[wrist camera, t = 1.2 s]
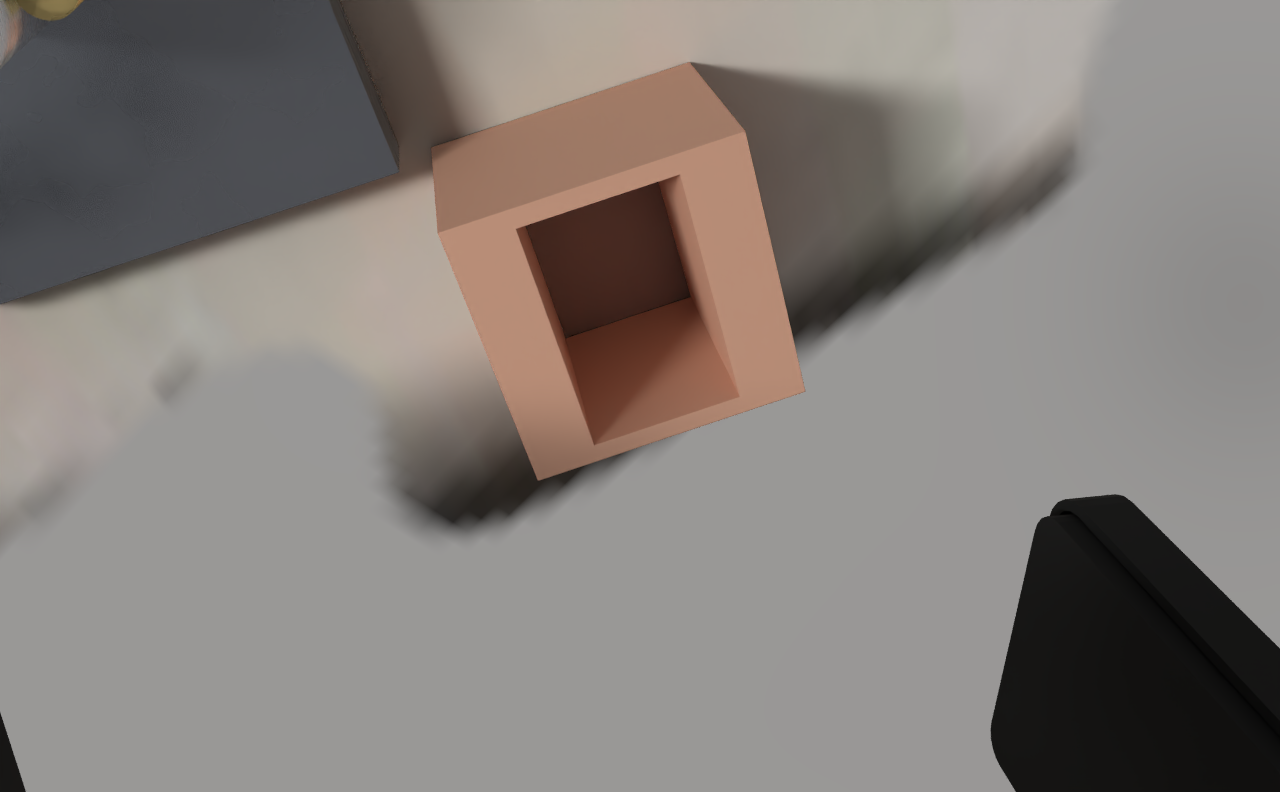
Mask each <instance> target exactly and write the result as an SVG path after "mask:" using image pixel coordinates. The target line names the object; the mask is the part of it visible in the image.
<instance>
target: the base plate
mask: <svg viewBox="0 0 1280 792" xmlns="http://www.w3.org/2000/svg"><path fill="white" fill-rule="evenodd" d="M398 172H399V146H398V143H397V141H396V138H395V136H394V133H393V131H392V128H391V126H390V123H389V121H388V118H387V116H386V114H385V111H384V109H383V106H382V104H381V101H380V99H379V96H378V94H377V91H376V89H375V87H374V84H373V82H372V79H371V77H370V74H369V72H368V69H367V67H366V64H365V62H364V59H363V57H362V55H361V52H360V50H359V47H358V45H357V42H356V40H355V37H354V35H353V32H352V30H351V28H350V25H349V23H348V20H347V18H346V15H345V13H344V10H343V8H342V5H341V3H340V0H0V304H2V303H5V302H8V301H11V300H14V299H17V298H20V297H23V296H26V295H29V294H32V293H35V292H38V291H41V290H44V289H47V288H50V287H53V286H56V285H59V284H62V283H65V282H68V281H71V280H75V279H78V278H81V277H84V276H87V275H90V274H93V273H96V272H99V271H102V270H105V269H108V268H111V267H114V266H117V265H120V264H123V263H126V262H129V261H132V260H135V259H138V258H141V257H144V256H147V255H150V254H153V253H156V252H159V251H162V250H165V249H168V248H171V247H174V246H177V245H180V244H183V243H186V242H189V241H192V240H195V239H198V238H201V237H205V236H208V235H211V234H214V233H217V232H220V231H223V230H226V229H229V228H232V227H235V226H238V225H241V224H244V223H247V222H250V221H253V220H256V219H259V218H262V217H265V216H268V215H271V214H274V213H277V212H280V211H283V210H286V209H289V208H292V207H295V206H298V205H301V204H304V203H307V202H310V201H313V200H316V199H319V198H322V197H325V196H328V195H332V194H335V193H338V192H341V191H344V190H347V189H350V188H353V187H356V186H359V185H362V184H365V183H368V182H371V181H374V180H377V179H380V178H383V177H386V176H389V175H392V174H395V173H398Z"/></svg>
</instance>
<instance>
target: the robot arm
mask: <svg viewBox="0 0 1280 792" xmlns="http://www.w3.org/2000/svg"><path fill="white" fill-rule="evenodd" d="M991 741H992V746H993V750H994V753H995V756H996V759H997V761H998V763H999V765H1000V767H1001V768H1002V770H1003V771H1004V773H1005V775H1006V776H1007V778H1008V779H1009V781H1010V783H1011V785H1012V786H1013V788H1014V789H1015V791H1016V792H1280V648H1279V647H1278V646H1277V645H1276V644H1275V643H1274V642H1273V641H1272V640H1271V639H1270V638H1269V637H1267V635H1265V633H1263V632H1262V631H1261V630H1260V628H1258V627H1257V626H1256V625H1255V624H1254V623H1253V622H1252V621H1251V620H1250V619H1249V618H1248V617H1247V616H1246V615H1245V614H1244V613H1243V612H1242V611H1241V610H1240V609H1239V608H1238V607H1237V606H1236V605H1235V604H1234V603H1233V602H1232V601H1231V600H1230V599H1229V598H1228V597H1227V596H1226V595H1225V594H1224V593H1223V592H1222V591H1221V590H1220V589H1219V588H1218V587H1217V586H1216V585H1215V584H1214V583H1213V582H1212V581H1211V580H1210V579H1209V578H1208V577H1207V576H1206V575H1205V574H1204V573H1203V572H1202V571H1201V570H1200V569H1199V568H1198V567H1197V566H1196V565H1195V564H1194V563H1193V562H1192V561H1191V560H1190V559H1189V558H1188V557H1187V556H1186V555H1185V554H1184V553H1183V552H1182V551H1181V550H1180V549H1179V548H1178V547H1177V546H1176V545H1175V544H1174V543H1173V542H1172V541H1171V540H1170V539H1169V538H1168V537H1167V536H1165V534H1164V533H1163V532H1162V531H1161V530H1160V529H1159V528H1158V527H1157V526H1156V525H1155V524H1154V523H1153V522H1152V521H1151V520H1150V519H1149V518H1148V517H1147V516H1145V514H1144V513H1143V512H1142V511H1141V510H1139V509H1138V507H1136V506H1135V505H1134V504H1133V503H1132V502H1131V501H1130V500H1128V499H1127V498H1126V497H1124V496H1121V495H1104V496H1095V497H1085V498H1075V499H1065V500H1062V501H1060V502H1058V503H1057V504H1056V505H1055V506H1054V508H1053V509H1052V511H1051V514H1050V516H1047V517H1044V518H1042V519H1041V520H1040V521H1039V522H1038V524H1037V527H1036V529H1035V533H1034V537H1033V542H1032V546H1031V551H1030V555H1029V559H1028V564H1027V568H1026V573H1025V577H1024V581H1023V586H1022V590H1021V594H1020V599H1019V603H1018V608H1017V612H1016V617H1015V621H1014V625H1013V630H1012V634H1011V639H1010V643H1009V647H1008V652H1007V656H1006V661H1005V665H1004V670H1003V674H1002V679H1001V683H1000V687H999V692H998V696H997V701H996V705H995V710H994V714H993V718H992V723H991ZM0 792H26V791H25V788H24V785H23V782H22V778H21V775H20V773H19V769H18V766H17V763H16V760H15V757H14V754H13V751H12V748H11V744H10V741H9V738H8V735H7V732H6V729H5V726H4V723H3V720H2V717H1V714H0Z"/></svg>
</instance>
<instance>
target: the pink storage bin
mask: <svg viewBox="0 0 1280 792" xmlns="http://www.w3.org/2000/svg"><path fill="white" fill-rule="evenodd" d="M431 153H432V165H433V178H434V191H435V204H436V217H437V229H438V235H439V237H440V240H441V242H442V245H443V247H444V250H445V252H446V255H447V257H448V260H449V262H450V265H451V267H452V269H453V272H454V274H455V277H456V279H457V282H458V284H459V287H460V289H461V292H462V294H463V297H464V299H465V302H466V304H467V306H468V309H469V311H470V314H471V316H472V319H473V321H474V324H475V326H476V329H477V331H478V334H479V336H480V339H481V341H482V344H483V346H484V348H485V351H486V353H487V356H488V358H489V361H490V363H491V366H492V368H493V371H494V373H495V376H496V378H497V381H498V383H499V386H500V388H501V390H502V393H503V395H504V398H505V400H506V403H507V405H508V408H509V410H510V413H511V415H512V418H513V420H514V423H515V425H516V428H517V430H518V432H519V435H520V437H521V440H522V442H523V445H524V447H525V450H526V452H527V455H528V457H529V460H530V462H531V465H532V467H533V470H534V472H535V474H536V477H537V479H538V481H539V480H542V479H545V478H548V477H551V476H554V475H557V474H560V473H563V472H566V471H569V470H572V469H575V468H578V467H581V466H584V465H587V464H590V463H593V462H596V461H599V460H602V459H605V458H608V457H611V456H614V455H617V454H620V453H623V452H626V451H629V450H632V449H635V448H638V447H641V446H644V445H647V444H650V443H653V442H656V441H659V440H662V439H665V438H668V437H671V436H674V435H677V434H680V433H683V432H686V431H689V430H692V429H695V428H698V427H701V426H704V425H707V424H710V423H713V422H716V421H719V420H722V419H725V418H728V417H731V416H734V415H737V414H740V413H743V412H746V411H749V410H752V409H755V408H758V407H761V406H764V405H767V404H770V403H772V402H776V401H779V400H782V399H785V398H788V397H791V396H794V395H797V394H800V393H803V392H805V388H804V383H803V379H802V375H801V370H800V366H799V362H798V357H797V353H796V349H795V344H794V340H793V336H792V331H791V327H790V323H789V318H788V314H787V310H786V305H785V301H784V297H783V292H782V288H781V284H780V279H779V275H778V271H777V266H776V262H775V258H774V253H773V249H772V245H771V240H770V236H769V232H768V227H767V223H766V219H765V214H764V210H763V206H762V201H761V197H760V193H759V188H758V184H757V180H756V176H755V171H754V167H753V163H752V158H751V154H750V150H749V145H748V141H747V137H746V132H745V130H744V129H743V128H742V127H741V125H740V124H739V123H738V122H737V120H736V119H735V118H734V117H733V115H732V114H731V113H730V112H729V110H728V109H727V108H726V107H725V106H724V104H723V103H722V102H721V101H720V99H719V98H718V97H717V96H716V94H715V93H714V92H713V91H712V89H711V88H710V87H709V86H708V85H707V83H706V82H705V81H704V80H703V78H702V77H701V76H700V75H699V73H698V72H697V71H696V70H695V68H694V67H693V66H692V65H691V64H690V62H688V63H685V64H682V65H679V66H676V67H673V68H670V69H667V70H664V71H661V72H658V73H655V74H652V75H649V76H646V77H643V78H640V79H637V80H634V81H631V82H628V83H625V84H622V85H619V86H616V87H613V88H610V89H607V90H604V91H601V92H598V93H595V94H592V95H589V96H586V97H582V98H579V99H576V100H573V101H570V102H567V103H564V104H561V105H558V106H555V107H552V108H549V109H546V110H543V111H540V112H537V113H534V114H531V115H528V116H525V117H522V118H519V119H516V120H513V121H510V122H507V123H504V124H501V125H498V126H495V127H492V128H489V129H486V130H483V131H480V132H477V133H474V134H471V135H468V136H465V137H461V138H458V139H455V140H452V141H449V142H446V143H443V144H440V145H437V146H434V147H431ZM656 182H659V186H660V189H661V193H662V197H663V200H664V204H665V207H666V211H667V214H668V218H669V221H670V225H671V229H672V232H673V236H674V239H675V243H676V246H677V250H678V253H679V257H680V261H681V264H682V268H683V271H684V275H685V278H686V282H687V285H688V289H689V293H690V296H691V297H689V298H686V299H683V300H680V301H677V302H674V303H671V304H668V305H665V306H662V307H659V308H656V309H653V310H650V311H647V312H644V313H641V314H638V315H635V316H632V317H629V318H626V319H623V320H620V321H617V322H614V323H611V324H608V325H605V326H602V327H599V328H596V329H593V330H590V331H587V332H584V333H581V334H578V335H575V336H572V337H569V338H565V335H564V332H563V329H562V326H561V324H560V321H559V318H558V315H557V312H556V310H555V307H554V304H553V301H552V298H551V296H550V293H549V290H548V287H547V284H546V282H545V279H544V276H543V273H542V270H541V268H540V265H539V262H538V259H537V256H536V254H535V251H534V248H533V245H532V242H531V240H530V237H529V234H528V231H527V228H526V225H529V224H532V223H535V222H538V221H541V220H544V219H547V218H550V217H553V216H556V215H559V214H562V213H565V212H568V211H571V210H574V209H577V208H580V207H583V206H586V205H589V204H592V203H595V202H598V201H601V200H604V199H607V198H610V197H613V196H616V195H619V194H622V193H625V192H628V191H631V190H634V189H637V188H640V187H643V186H647V185H650V184H653V183H656Z"/></svg>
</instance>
